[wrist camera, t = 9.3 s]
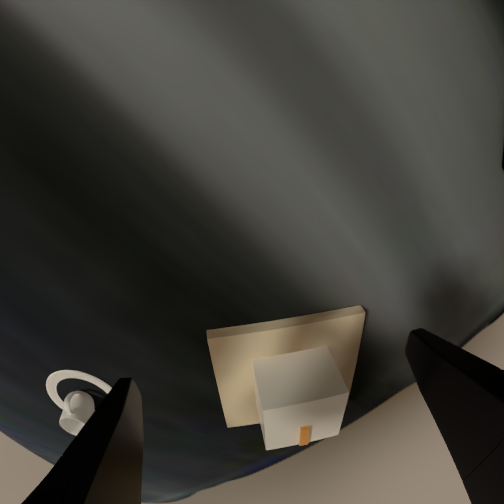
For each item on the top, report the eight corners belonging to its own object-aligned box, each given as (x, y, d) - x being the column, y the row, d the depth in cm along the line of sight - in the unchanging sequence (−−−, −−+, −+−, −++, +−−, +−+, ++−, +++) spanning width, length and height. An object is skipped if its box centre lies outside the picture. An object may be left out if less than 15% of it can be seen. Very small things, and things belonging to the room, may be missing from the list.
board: (360, 304, 24) (382, 336, 21) (343, 397, 30) (356, 427, 26) (206, 330, 23) (209, 369, 20) (226, 419, 29) (231, 452, 25)
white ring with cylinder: (120, 428, 29) (116, 460, 25) (50, 408, 26) (41, 438, 23) (128, 380, 25) (122, 417, 22) (45, 355, 23) (31, 389, 19)
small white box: (326, 345, 24) (350, 395, 20) (321, 391, 27) (339, 437, 23) (251, 359, 24) (263, 414, 19) (256, 404, 27) (266, 453, 22)
